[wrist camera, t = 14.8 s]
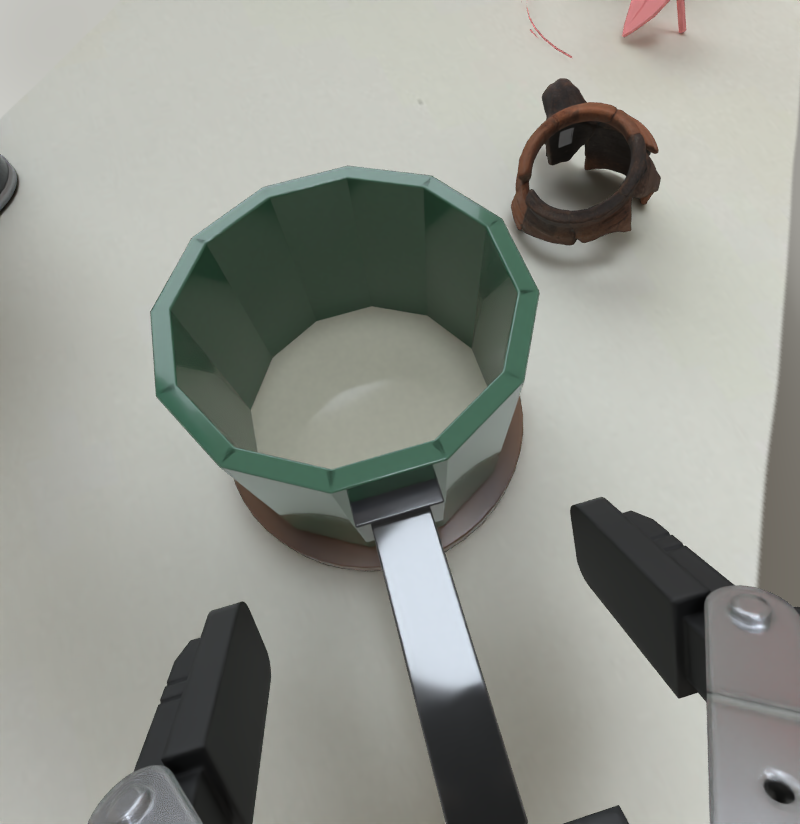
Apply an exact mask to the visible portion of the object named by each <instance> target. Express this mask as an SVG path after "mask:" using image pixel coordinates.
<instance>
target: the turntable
mask: <svg viewBox="0 0 800 824" xmlns="http://www.w3.org/2000/svg"><path fill="white" fill-rule="evenodd" d="M522 436H523V412H522V406H521V399H520V395H519V398H518V401H517V404H516V407H515V410H514V413H513V416H512V419H511V422H510V425H509V428H508V431H507V434H506V437H505V440H504V443H503V446H502V449H501V452H500V455H499V458H498V461H497V464H496V467H495V470H494V472H493V473H492V474H491V475H490V476H489V478H488V479H487V480H486V481H485V482H484V483H483V484H482V485H481V486H480V487H479V488H478V489H477V490H476V492H475V493H474V494H473V495H472V496H471V497H470V498H469V499H468V500H467V501H466V502H465V503H464V504H463V506H462V507H461V508H460V509H459V510H458V511H457V512H456V513H455V514H454V515H453V516H452V517H451V518H450V519H449V521H448V522H447V523H446V524H445V525H444V526H440V527H437V530H438V533H439V536H440V539H441V542H442V546H443V549H444V552H445V551H447V550H449V549H450V548H452V547H453V546H455V545H456V544H458V543H459V542H461V541H462V540H464V539H465V538H466V537H468V536H469V535H470V534H471V533H472V532H473V531H474V530H475V529H477V528H478V527H479V526H480V525H481V524H482V523H483V522H484V520H485V519H486V518H487V517H488V516H489V515H490V513H491V512H492V511H493V510H494V509H495V507H496V505H497V504H498V502H499V501H500V499H501V498H502V496H503V495H504V493H505V491H506V488H507V486H508V484H509V482H510V480H511V478H512V475H513V473H514V471H515V468H516V465H517V461H518V458H519V455H520V451H521V444H522ZM234 482H235V485H236V487H237V489H238V491H239V493H240V495H241V497H242V499H243V501H244V503H245V504H246V506H247V507H248V508H249V510H250V511H251V513H252V514H253V516H254V517H255V518H256V519H257V520H258V521H259V522H260V523H261V525H262V526H263V527H264V528H265V529H266V530H267V531H268V532H270V533H271V534H272V535H273V536H275V537H276V538H277V539H278V540H280V541H281V542H282V543H283V544H285V545H287V546H288V547H290V548H292V549H293V550H295V551H297V552H299V553H300V554H302V555H304V556H306V557H308V558H311V559H313V560H316V561H318V562H321V563H323V564H326V565H331V566H335V567H339V568H343V569H351V570H362V571H375V570H382V568H381V564H380V560H379V556H378V552H377V548H376V546H373V547H366V546H362V545H358V544H354V543H350V542H346V541H342V540H338V539H334V538H330V537H326V536H323V535H319V534H315V533H311V532H307V531H303V530H299V529H296V528H295V527H294V526H293V525H291V524H290V523H289V522H288V521H286V520H285V519H284V518H283V517H281V516H280V515H279V514H278V513H276V512H275V511H274V510H273V509H271V508H270V507H269V506H268V505H266V504H265V503H264V502H263V501H261V500H260V499H259V498H258V497H256V496H255V495H254V494H253V493H251V492H250V491H249V490H248V489H246V488H245V487H244V486H243V485H241V484H240V483H239V482H238V481H236V480H235V479H234Z"/></svg>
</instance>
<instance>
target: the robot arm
mask: <svg viewBox="0 0 800 824" xmlns="http://www.w3.org/2000/svg"><path fill="white" fill-rule="evenodd" d="M16 183H17V175H16V171H15V169H14V168H13V166H12V165H11V164H10V163H9V162H8V161H7V160H6V158H5V157H4V156H2V155H1V154H0V210H1V209H2V208H3V207H4V206H5V205H6V204H7V202H8V201H9V200H10V198H11V196H12V195H13V193H14V190H15V188H16ZM570 514H571V521H572V529H573V536H574V543H575V550H576V557H577V562H578V565H579V568H580V571H581V573H582V575H583V577H584V579H585V581H586V582H587V584H588V585H589V587H590V588H591V589H592V590H593V592H594V593H595V594H596V595H597V597H598V598H599V599H600V600H601V602H602V603H603V604H604V605H605V607H606V608H607V609H608V610H609V612H610V613H611V614H612V615H613V617H614V618H615V619H616V621H617V622H618V623H619V624H620V626H621V627H622V628H623V629H624V631H625V632H626V633H627V634H628V636H629V637H630V638H631V639H632V641H633V642H634V643H635V644H636V646H637V647H638V648H639V649H640V651H641V652H642V653H643V654H644V656H645V657H646V658H647V659H648V661H649V662H650V663H651V665H652V666H653V667H654V668H655V670H656V671H657V672H658V673H659V675H660V676H661V677H662V678H663V680H664V681H665V682H666V683H667V685H668V686H669V687H670V688H671V690H672V691H673V692H674V693H675V695H676V696H677V697H678V698H682V697H686V696H689V695H692V694H695V693H699V694H700V695H701V696H702V697H703V699H704V700H705V701H706V702H707V733H708V770H709V808H710V824H800V607H792V606H791V605H790V604H789V603H788V602H787V601H785V600H784V599H782V598H781V597H779V596H777V595H775V594H773V593H771V592H768V591H765V590H762V589H759V588H755V587H749V586H740V585H739V586H735V585H734V584H732V583H731V582H730V581H729V580H727V579H726V578H725V577H724V576H722V575H721V574H720V573H719V572H718V571H716V570H715V569H714V568H713V567H711V566H710V565H709V564H708V563H706V562H705V561H704V560H703V559H701V558H700V557H699V556H698V555H696V554H695V553H694V552H693V551H692V550H690V549H689V548H688V547H687V546H683V544H682V542H680V541H679V540H678V539H677V538H675V537H674V536H673V535H670V534H669V532H668V531H667V530H666V529H664V528H663V527H662V526H661V525H659V524H658V523H657V522H656V521H654V520H653V519H651V518H648V517H646V516H643V515H641V514H638V513H636V512H633V511H628V512H625V513H621V512H620V511H619V510H618V509H617V508H616V507H614V506H613V505H612V504H611V503H610V502H609V501H608V500H606V499H605V498H603V497H600V498H596V499H593V500H589V501H586V502H583V503H579V504H576V505H572V506H571V510H570ZM270 682H271V667H270V661H269V656H268V653H267V650H266V647H265V645H264V643H263V640H262V638H261V636H260V633H259V631H258V629H257V626H256V624H255V622H254V619H253V617H252V615H251V612H250V610H249V608H248V606H247V604H246V603H245V602H240V603H236V604H233V605H229V606H226V607H223V608H219V609H216V610H212V611H210V612H209V614H208V616H207V620H206V623H205V626H204V629H203V632H202V635H201V638H198V639H194V640H191V641H190V642H189V643H188V644H187V646H186V647H185V648H184V650H183V651H182V652H181V654H180V655H179V656H178V658H177V659H176V660H175V662H174V664H173V667H172V670H171V672H170V675H169V678H168V680H167V686H166V687H165V689H164V691H163V694H162V697H161V699H160V701H161V704H159V705H158V707H157V710H156V713H155V715H154V718H153V721H152V724H151V726H150V729H149V732H148V734H147V737H146V740H145V742H144V745H143V748H142V750H141V753H140V756H139V759H138V761H137V764H136V767H135V769H134V772H133V773H131V774H130V775H128V776H126V777H125V778H124V779H122V780H121V781H120V782H119V783H117V784H116V785H115V786H114V787H113V788H112V789H111V790H110V791H109V792H108V793H107V794H106V795H105V796H104V798H103V799H102V800H101V801H100V803H99V804H98V806H97V807H96V809H95V810H94V812H93V814H92V815H91V817H90V819H89V822H88V824H252V822H253V814H254V807H255V799H256V791H257V783H258V775H259V768H260V760H261V752H262V744H263V737H264V729H265V721H266V713H267V706H268V698H269V690H270ZM564 824H629V823H628V821H627V819H626V817H625V816H624V814H623V812H622V810H621V808H620V806H619V805H618V806H615V807H612V808H609V809H606V810H603V811H600V812H597V813H594V814H591V815H588V816H585V817H582V818H579V819H576V820H573V821H570V822H567V823H564Z"/></svg>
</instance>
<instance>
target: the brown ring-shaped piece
mask: <svg viewBox="0 0 800 824" xmlns="http://www.w3.org/2000/svg"><path fill="white" fill-rule="evenodd" d="M542 101H543V105H544V110H545V113H546V116H547V119H546V121H545V122H544V123H542V124H541V126H540V127H539V128H538V129H537V130H536V131H535V132H534V133H533V134H532V136H531V137H530V138H529V140H528V141H527V143H526V145H525V147H524V149H523V152H522V154H521V156H520V159H519V167H518V174H517V179H516V194H515V196H514V199H513V201H512V204H511V209H512V214H513V218H514V221H515V223H516V226H517V228H518V229H519V230H523V231H524V232H525V233H527V234H529V235H531V236H533V237H536V238H539V239H542V240H544V241H548V242H552V243H557V244H564V245H573V244H574V243H575V242H576V240H577V239H578V240H579V241H581V242H582V243H586V242H589V241H593V240H595V239H597V238H599V237H601V236H604V235H606V234H609V233H613V232H627V231H631V201H632V198H640V202H641V204H643V205H644V204H646V203H647V201H648V200H649V199H650V197H651V195H652V194H653V193H654V192H656V191H658V188H659V184H660V179H661V177H660V175H659V174H658V172H657V171H656V168H655V165H654V163H653V161H652V160H651V158H650V157H649V155H650V154H651V152H652V153H654V154H656V153H658V147H657V144H656V142H655V139H654V138H653V136H652V134H651V133H650V132H649V130H648V129H647V128H646V127H645V126H644V125H643V124H642V123H640V122H639V121H638V120H636V119H634V118H633V117H631V116H629V115H628V114H626V113H625V112H624V111H622V110H618V109H617V108H616V107H614V106H612V105H608V104H603V103H594V102H589V103H587V102H586V101H585V100H584V98H583V96H582V95H581V93H580V91H579V89H578V88H577V87H576V86H574V85H573V84H572V83H571V81H570V80H568V79H563V78H561V79H558V80H557V81H556V82H554V83H553V84H550V85H549V86H548V87H547V89H546V90H545V92H544V93H543V95H542ZM544 144H545V145H546V156H547V157H548V163H549V164H550V165H555V164H558V163H560V162H566V161H569V160H570V159H571V158H572V156H573V155H574V154H575V153H576V152H577V151H578V150H579V148H580V147H581V146H582V145H584V144H585V156H586V158H585V170H591V169H609V170H613V171H616V172H619V173H622V174H624V175H626V178H625V180H624V182H623V183H622V185H621V186H620V188H619V190H617V191H616V192H615V193H614V194H613V195H611V196H610V197H609V198H607V199H606V200H604V201H603V202H601V203H600V204H598V205H595V206H593V207H591V208H588V209H584V210H578V211H569V210H561V209H557V208H554V207H552V206H550V205H548V204H546V203H545V202H544V201H542V200H541V199H540V198H539V196H538V195H537V194H536V192H535V191H534V190H533V189H531V190H529V180H530V178H531V174H532V167H533V163H534V160H535V158H536V155H537V154H538V152H539V150H540V149H541V147H542V146H543V145H544Z"/></svg>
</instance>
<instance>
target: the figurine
mask: <svg viewBox="0 0 800 824" xmlns="http://www.w3.org/2000/svg"><path fill="white" fill-rule="evenodd" d="M669 1H670V0H631V3H630V7H629V10H628V14H627V17H626V21H625V24H624V29H623V35H622V36H623V37H626V36H627V35H629V34H631V33H633V32H634V31H636V30H637V29H639V28H640V27H641V26H643V25H644V24H645V23H647V22H648V21H650V20H651V19H652V18H654V17H655V16H656V15H657V14H658V13H659V12H660V11H661V10H662V8H663V7H664V6H665V5H666V4H667V3H668V2H669ZM521 3H522V1H521ZM527 11H528V9H527ZM677 11H678V25H679V33H683V32H685V31H686V19H685V3H684V0H677ZM528 15H529V13H528ZM529 19H530V21H531V23H532V24H533V22H532V20H531V18H530V17H529ZM533 26H534V24H533ZM534 28H535V26H534ZM535 30H536V31H537V32H538V33H539V34H540V35H541V37H542V38H543V39H544V40H545V41H546V42H548V43H549V44H550V45H551V46H553V47H554V48H555V49H556V50H558V51H560V52H562V53H563V54H565V55H567V56H568V57H570V58H572V56H570V55H569V54H567V53H565V52H563V51H562V50H560V49H558V48H557V47H555V46H554V45H553V44H552V43H550V42H549V41H548V40H547V39H545V38H544V37H543V36H542V34H541V33H540V32H539V31H538V30H537V29H536V28H535ZM530 31H531V32H532V33H533V31H532V30H531V29H530ZM533 34H534V33H533ZM534 35H535V34H534ZM535 36H536V35H535ZM536 37H537V36H536ZM537 38H538V37H537ZM538 39H539V38H538Z"/></svg>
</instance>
